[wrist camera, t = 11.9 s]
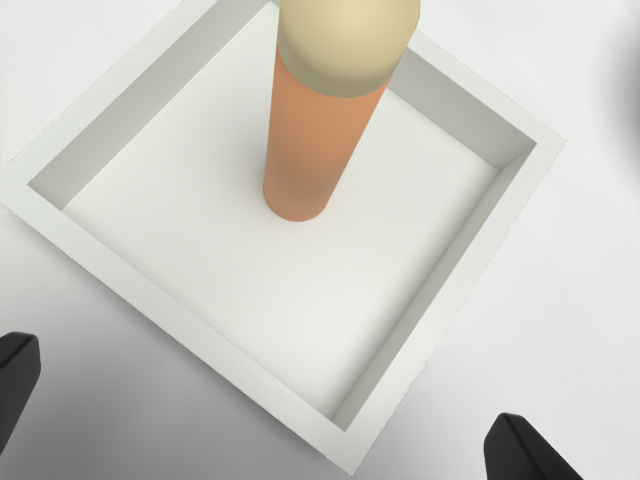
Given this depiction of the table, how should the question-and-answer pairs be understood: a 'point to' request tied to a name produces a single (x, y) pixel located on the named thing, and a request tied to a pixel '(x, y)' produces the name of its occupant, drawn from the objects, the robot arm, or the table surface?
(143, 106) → the tray
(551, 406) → the table surface
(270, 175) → the pin
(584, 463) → the table surface
